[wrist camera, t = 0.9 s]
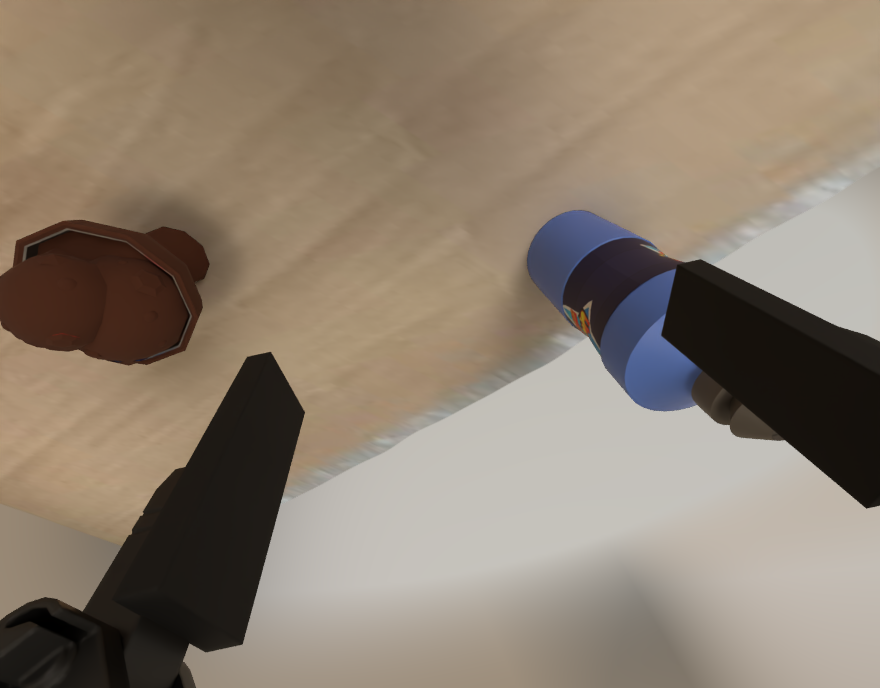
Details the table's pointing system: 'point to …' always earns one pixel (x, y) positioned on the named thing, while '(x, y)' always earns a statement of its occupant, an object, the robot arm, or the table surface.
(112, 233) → the ice cream bowl
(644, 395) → the water bottle
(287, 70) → the table surface
